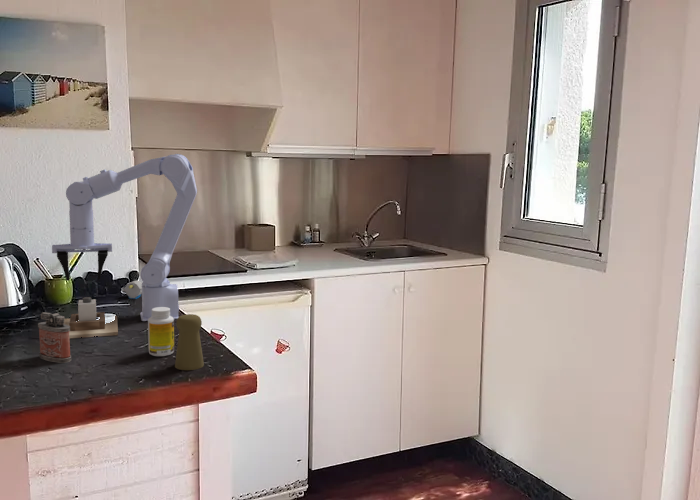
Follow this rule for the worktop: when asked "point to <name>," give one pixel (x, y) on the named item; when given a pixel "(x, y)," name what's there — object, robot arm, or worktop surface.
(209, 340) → the worktop surface
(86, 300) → the plug
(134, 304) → the worktop surface
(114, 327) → the socket dock
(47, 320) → the lighter
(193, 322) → the olive pepper mill
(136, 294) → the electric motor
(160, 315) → the supplement bottle
